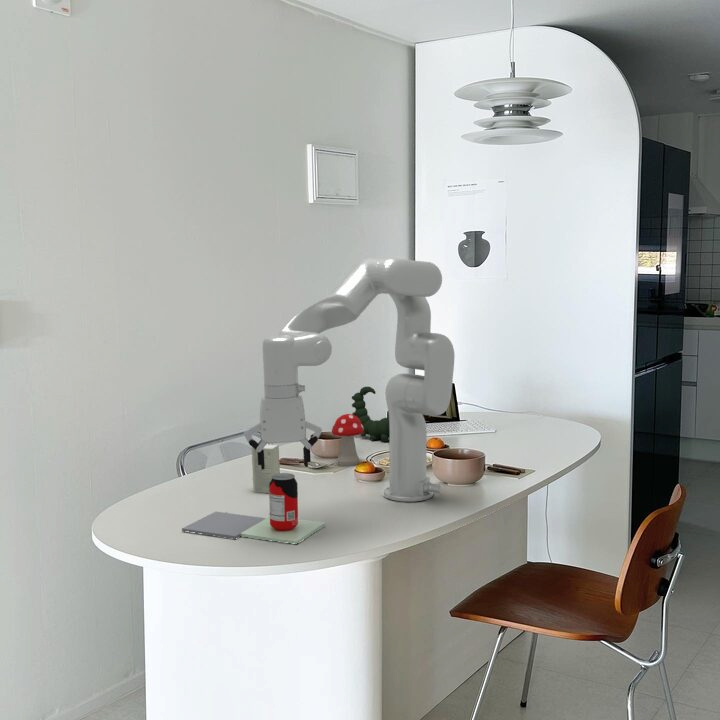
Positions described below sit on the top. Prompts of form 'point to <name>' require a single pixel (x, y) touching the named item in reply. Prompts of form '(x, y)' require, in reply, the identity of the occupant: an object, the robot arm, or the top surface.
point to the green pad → (291, 536)
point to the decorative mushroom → (347, 438)
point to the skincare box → (271, 467)
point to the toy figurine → (370, 427)
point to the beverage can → (283, 502)
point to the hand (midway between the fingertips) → (284, 466)
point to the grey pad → (223, 524)
